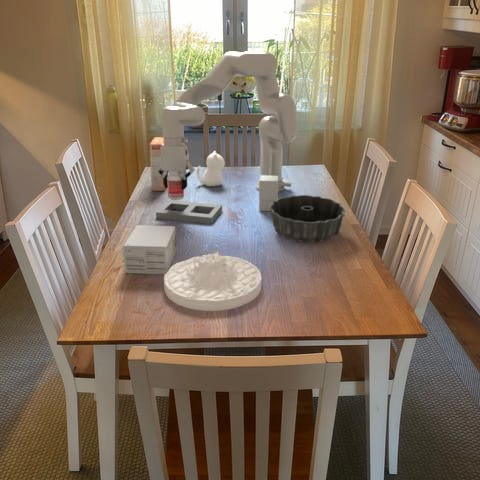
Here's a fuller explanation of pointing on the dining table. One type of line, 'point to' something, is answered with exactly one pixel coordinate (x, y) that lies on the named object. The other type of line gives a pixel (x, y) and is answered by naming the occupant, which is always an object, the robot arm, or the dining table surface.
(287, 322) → the dining table surface
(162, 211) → the rail
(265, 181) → the supplement box
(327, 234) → the bundt pan
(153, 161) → the cracker box
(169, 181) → the pill bottle
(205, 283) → the cake
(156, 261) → the supplement box
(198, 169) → the cat figurine
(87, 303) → the dining table surface
